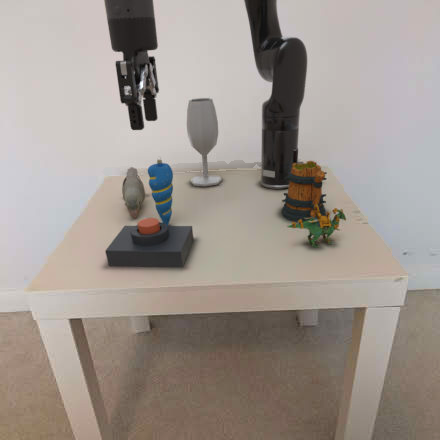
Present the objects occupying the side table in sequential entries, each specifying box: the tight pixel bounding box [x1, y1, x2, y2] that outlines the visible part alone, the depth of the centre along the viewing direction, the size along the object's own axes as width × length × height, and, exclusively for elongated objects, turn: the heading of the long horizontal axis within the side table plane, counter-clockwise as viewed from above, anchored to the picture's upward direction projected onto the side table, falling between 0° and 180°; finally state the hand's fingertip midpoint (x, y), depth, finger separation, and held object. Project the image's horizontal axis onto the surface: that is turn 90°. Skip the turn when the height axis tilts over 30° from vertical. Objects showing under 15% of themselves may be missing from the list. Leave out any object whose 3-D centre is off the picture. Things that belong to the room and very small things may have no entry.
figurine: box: [286, 204, 347, 248], centre depth 74 cm, size 3×12×8 cm, turn 105°
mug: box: [281, 160, 328, 223], centre depth 85 cm, size 13×10×12 cm
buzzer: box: [104, 221, 194, 268], centre depth 76 cm, size 14×11×5 cm
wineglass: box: [186, 97, 222, 187], centre depth 105 cm, size 9×9×21 cm
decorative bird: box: [121, 166, 146, 219], centre depth 96 cm, size 5×16×8 cm, turn 9°
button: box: [136, 217, 160, 234], centre depth 74 cm, size 4×4×2 cm
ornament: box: [147, 156, 174, 226], centre depth 83 cm, size 5×5×15 cm
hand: (145, 124), depth 72 cm, fingers open, 8 cm apart
